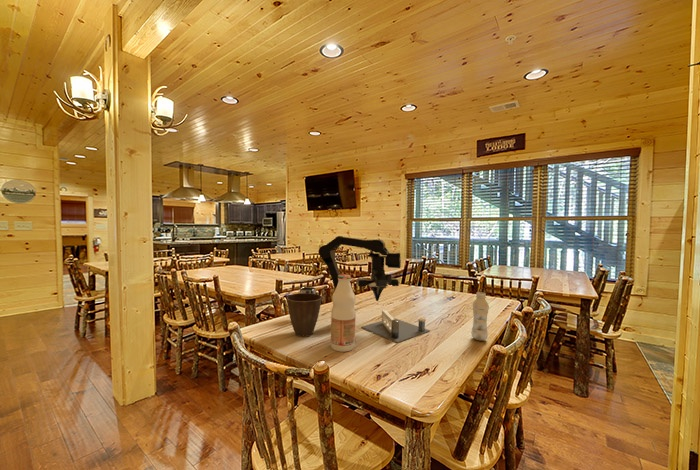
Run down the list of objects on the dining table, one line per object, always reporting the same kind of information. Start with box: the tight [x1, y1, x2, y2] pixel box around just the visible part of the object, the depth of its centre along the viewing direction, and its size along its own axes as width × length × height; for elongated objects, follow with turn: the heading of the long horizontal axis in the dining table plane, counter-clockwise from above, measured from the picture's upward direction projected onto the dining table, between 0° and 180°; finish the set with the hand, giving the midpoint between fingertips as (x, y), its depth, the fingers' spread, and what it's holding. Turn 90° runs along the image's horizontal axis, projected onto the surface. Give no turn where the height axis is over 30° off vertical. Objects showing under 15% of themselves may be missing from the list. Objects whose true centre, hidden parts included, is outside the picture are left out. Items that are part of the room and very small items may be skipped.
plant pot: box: [286, 292, 322, 338], centre depth 125 cm, size 15×15×16 cm
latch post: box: [417, 317, 427, 332], centre depth 130 cm, size 2×2×6 cm
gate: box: [381, 309, 395, 334], centre depth 131 cm, size 16×2×6 cm, turn 10°
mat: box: [361, 317, 430, 344], centre depth 132 cm, size 22×22×1 cm
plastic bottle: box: [470, 291, 490, 342], centre depth 122 cm, size 6×7×20 cm
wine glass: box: [299, 286, 316, 294], centre depth 145 cm, size 8×8×15 cm
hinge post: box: [391, 319, 400, 339], centre depth 121 cm, size 3×3×8 cm
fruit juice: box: [330, 274, 357, 353], centre depth 111 cm, size 9×9×28 cm
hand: (377, 300), depth 132 cm, fingers closed
